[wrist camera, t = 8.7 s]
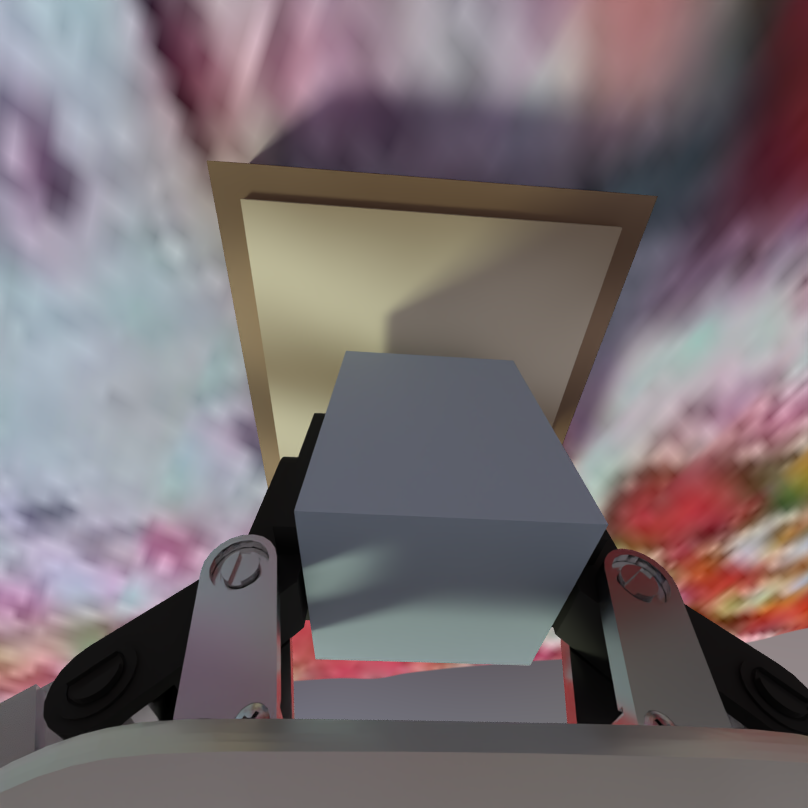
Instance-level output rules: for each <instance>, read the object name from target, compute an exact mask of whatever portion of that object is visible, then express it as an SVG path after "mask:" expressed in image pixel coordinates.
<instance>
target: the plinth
mask: <svg viewBox="0 0 808 808" xmlns="http://www.w3.org/2000/svg"><path fill="white" fill-rule="evenodd" d="M207 164H208V170H209V175H210V180H211V186H212V191H213V196H214V202H215V207H216V213H217V218H218V223H219V229H220V234H221V239H222V245H223V250H224V255H225V261H226V266H227V271H228V277H229V282H230V287H231V293H232V298H233V303H234V309H235V314H236V320H237V325H238V330H239V336H240V341H241V346H242V352H243V357H244V362H245V368H246V373H247V378H248V384H249V389H250V394H251V400H252V405H253V410H254V416H255V421H256V426H257V432H258V437H259V443H260V448H261V453H262V459H263V464H264V469H265V475H266V480H267V485H268V488H269V485H270V483H271V481H272V478H273V476H274V474H275V471H276V469H277V467H278V464H279V462H280V460H281V458H282V457H298V455H299V453H300V450H301V447H302V445H303V442H304V439H305V436H306V434H307V431H308V428H309V426H310V423H311V420H312V418H313V415H314V413H326V411H327V408H328V405H329V402H330V398H331V395H332V392H333V389H334V386H335V383H336V380H337V377H338V374H339V371H340V368H341V365H342V361H343V358H344V355H345V352H346V351H358V352H375V353H392V354H409V355H426V356H443V357H460V358H477V359H495V360H512V361H514V363H515V365H516V366H517V368H518V370H519V371H520V373H521V375H522V377H523V378H524V380H525V382H526V384H527V385H528V387H529V389H530V390H531V392H532V394H533V396H534V397H535V399H536V401H537V403H538V404H539V406H540V408H541V409H542V411H543V413H544V415H545V416H546V418H547V420H548V421H549V423H550V425H551V427H552V428H553V430H554V432H555V434H556V435H557V437H558V439H559V440H560V442H561V444H563V441H564V439H565V436H566V433H567V431H568V428H569V426H570V423H571V420H572V418H573V415H574V413H575V410H576V407H577V405H578V402H579V400H580V397H581V394H582V392H583V389H584V387H585V384H586V381H587V379H588V376H589V374H590V371H591V368H592V366H593V363H594V361H595V358H596V355H597V353H598V350H599V348H600V345H601V342H602V340H603V337H604V335H605V332H606V329H607V327H608V324H609V322H610V319H611V316H612V314H613V311H614V309H615V306H616V303H617V301H618V298H619V296H620V293H621V290H622V288H623V285H624V283H625V280H626V277H627V275H628V272H629V270H630V267H631V264H632V262H633V259H634V257H635V254H636V251H637V249H638V246H639V244H640V241H641V238H642V236H643V233H644V231H645V228H646V225H647V223H648V220H649V218H650V215H651V212H652V210H653V207H654V205H655V202H656V199H657V197H658V196H649V195H637V194H626V193H615V192H603V191H591V190H578V189H565V188H553V187H540V186H527V185H515V184H502V183H489V182H477V181H464V180H452V179H439V178H426V177H414V176H401V175H388V174H376V173H363V172H350V171H338V170H325V169H313V168H300V167H287V166H275V165H262V164H249V163H235V162H220V161H207Z"/></svg>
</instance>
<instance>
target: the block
mask: <svg viewBox="0 0 808 808" xmlns="http://www.w3.org/2000/svg"><path fill="white" fill-rule="evenodd" d="M294 514H295V521H296V528H297V535H298V542H299V549H300V555H301V562H302V569H303V576H304V583H305V589H306V596H307V603H308V610H309V617H310V624H311V630H312V637H313V644H314V651H315V658H316V659H330V660H364V661H399V662H433V663H468V664H502V665H530V664H531V663H532V661H533V659H534V657H535V655H536V654H537V652H538V650H539V648H540V646H541V645H542V643H543V641H544V639H545V637H546V636H547V634H548V632H549V630H550V628H551V627H552V625H553V623H554V621H555V619H556V618H557V616H558V614H559V612H560V610H561V609H562V607H563V605H564V603H565V601H566V600H567V598H568V596H569V594H570V592H571V591H572V589H573V587H574V585H575V583H576V582H577V580H578V578H579V576H580V574H581V573H582V571H583V569H584V567H585V565H586V564H587V562H588V560H589V558H590V556H591V555H592V553H593V551H594V549H595V547H596V546H597V544H598V542H599V540H600V538H601V537H602V535H603V533H604V531H605V529H606V528H607V526H608V523H607V522H606V520H605V518H604V516H603V515H602V513H601V511H600V509H599V508H598V506H597V504H596V503H595V501H594V499H593V497H592V496H591V494H590V492H589V490H588V489H587V487H586V485H585V484H584V482H583V480H582V478H581V477H580V475H579V473H578V472H577V470H576V468H575V466H574V465H573V463H572V461H571V459H570V458H569V456H568V454H567V453H566V451H565V449H564V447H563V446H562V444H561V442H560V440H559V439H558V437H557V435H556V434H555V432H554V430H553V428H552V427H551V425H550V423H549V421H548V420H547V418H546V416H545V415H544V413H543V411H542V409H541V408H540V406H539V404H538V403H537V401H536V399H535V397H534V396H533V394H532V392H531V390H530V389H529V387H528V385H527V384H526V382H525V380H524V378H523V377H522V375H521V373H520V371H519V370H518V368H517V366H516V365H515V363H514V361H512V360H495V359H477V358H460V357H443V356H426V355H409V354H392V353H375V352H358V351H346V352H345V355H344V358H343V361H342V365H341V368H340V371H339V374H338V377H337V380H336V383H335V386H334V389H333V392H332V395H331V398H330V402H329V405H328V408H327V411H326V414H325V417H324V420H323V423H322V426H321V429H320V432H319V435H318V439H317V442H316V445H315V448H314V451H313V454H312V457H311V460H310V463H309V466H308V469H307V473H306V476H305V479H304V482H303V485H302V488H301V491H300V494H299V497H298V500H297V503H296V506H295V510H294Z"/></svg>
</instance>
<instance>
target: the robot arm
mask: <svg viewBox="0 0 808 808" xmlns="http://www.w3.org/2000/svg"><path fill="white" fill-rule="evenodd" d="M325 414H326V413H314V415H313V418H312V420H311V423H310V426H309V428H308V431H307V434H306V436H305V439H304V442H303V445H302V447H301V450H300V453H299V455H298V457H282V458H281V460H280V462H279V464H278V467H277V469H276V471H275V474H274V476H273V478H272V481H271V483H270V485H269V488H268V490H267V492H266V495H265V497H264V499H263V502H262V504H261V506H260V509H259V511H258V513H257V516H256V518H255V520H254V523H253V525H252V527H251V530H250V532H249V534H248V535H241V536H238V537H234V538H231V539H229V540H227V541H226V542H224V543H222V544H220V545H219V546H218V547H217V548H216V549H214V550H213V551H212V552H211V553H210V555H209V556H208V557H207V559H206V560H205V562H204V564H203V567H202V570H201V573H200V578H199V580H197V581H196V582H194V583H193V584H191V585H189V586H188V587H186V588H184V589H183V590H181V591H179V592H178V593H176V594H174V595H173V596H171V597H170V598H168V599H166V600H165V601H163V602H161V603H160V604H158V605H156V606H155V607H153V608H151V609H150V610H148V611H147V612H145V613H143V614H142V615H140V616H138V617H137V618H135V619H133V620H132V621H130V622H128V623H127V624H125V625H123V626H122V627H120V628H119V629H117V630H115V631H114V632H112V633H110V634H109V635H107V636H105V637H104V638H102V639H100V640H99V641H97V642H96V643H94V644H92V645H91V646H89V647H88V648H86V649H85V650H84V651H82V652H81V653H80V654H78V655H77V656H75V657H74V658H73V659H72V660H71V661H70V662H69V663H68V664H67V665H66V666H65V667H64V668H63V669H62V670H61V672H60V673H59V675H58V676H57V678H56V679H55V681H53V682H51V683H49V684H48V685H46V686H44V687H42V688H40V687H39V686H38V685H36V684H35V685H34V686H32V687H30V688H28V689H26V690H24V691H22V692H20V693H19V694H17V695H15V696H13V697H11V698H9V699H7V700H6V701H4V702H2V703H0V808H808V689H807V688H806V687H805V686H804V685H803V684H802V683H801V682H800V681H799V680H798V679H797V678H796V677H795V676H794V675H793V674H792V673H790V672H789V671H787V670H786V669H785V668H783V667H782V666H781V665H779V664H778V663H776V662H775V661H773V660H772V659H770V658H768V657H767V656H765V655H764V654H762V653H761V652H759V651H757V650H756V649H754V648H753V647H751V646H749V645H748V644H746V643H745V642H743V641H742V640H740V639H739V638H737V637H735V636H734V635H732V634H731V633H729V632H727V631H726V630H724V629H723V628H721V627H720V626H718V625H716V624H715V623H713V622H712V621H710V620H709V619H707V618H705V617H704V616H702V615H701V614H699V613H698V612H696V611H694V610H693V609H691V608H690V607H688V606H687V605H685V604H684V602H683V600H682V597H681V595H680V592H679V590H678V587H677V585H676V584H675V582H674V580H673V578H672V577H671V576H670V575H669V573H668V572H667V571H666V570H665V569H664V568H663V567H662V566H660V565H659V564H658V563H657V562H656V561H654V560H653V559H651V558H649V557H647V556H646V555H644V554H642V553H639V552H636V551H633V550H628V549H617V547H616V546H615V544H614V542H613V541H612V539H611V537H610V535H609V534H608V532H607V530H606V529H605V531H604V533H603V535H602V537H601V538H600V540H599V542H598V544H597V546H596V547H595V549H594V551H593V553H592V555H591V556H590V558H589V560H588V562H587V564H586V565H585V567H584V569H583V571H582V573H581V574H580V576H579V578H578V580H577V582H576V583H575V585H574V587H573V589H572V591H571V592H570V594H569V596H568V598H567V600H566V601H565V603H564V605H563V607H562V609H561V610H560V612H559V614H558V616H557V618H556V619H555V621H554V623H553V625H552V627H553V628H554V631H555V634H556V635H557V636H558V637H559V638H561V652H562V664H563V676H564V687H565V700H566V711H567V724H566V723H565V724H564V723H516V722H514V723H512V722H463V721H405V720H404V721H403V720H333V719H295V718H294V687H293V654H292V637H293V636H294V635H295V634H296V633H298V632H299V631H300V630H301V629H302V628H304V624H305V620H310V617H309V610H308V603H307V596H306V589H305V583H304V576H303V569H302V562H301V555H300V549H299V542H298V535H297V528H296V521H295V514H294V510H295V506H296V503H297V500H298V497H299V494H300V491H301V488H302V485H303V482H304V479H305V476H306V473H307V469H308V466H309V463H310V460H311V457H312V454H313V451H314V448H315V445H316V442H317V439H318V435H319V432H320V429H321V426H322V423H323V420H324V417H325Z"/></svg>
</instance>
